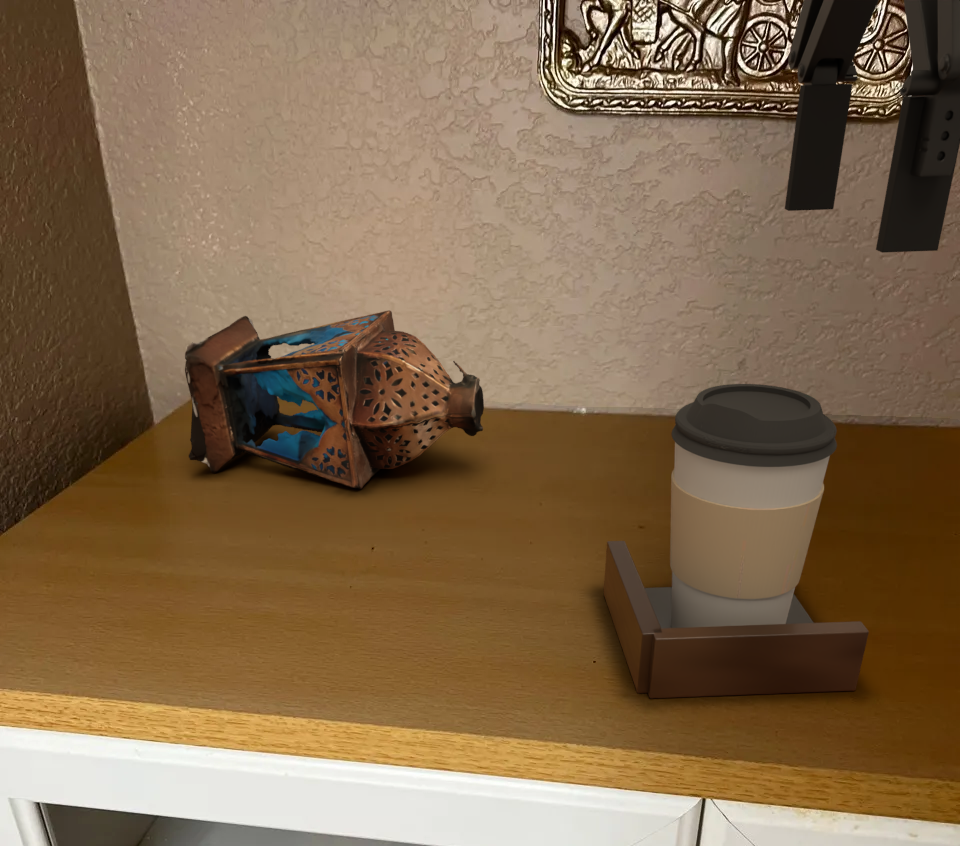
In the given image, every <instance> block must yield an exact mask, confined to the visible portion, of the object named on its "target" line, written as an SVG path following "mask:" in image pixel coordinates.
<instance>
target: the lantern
mask: <svg viewBox="0 0 960 846" xmlns="http://www.w3.org/2000/svg"><path fill="white" fill-rule="evenodd" d="M394 324H395V323H394V318H393V312H392V310H384V311H380V312H376V313H375V312H374V313H371V314H367V315H362V316H357V317H353V318H348V319H344V320H340V321H334V322H330V323H327V324H322V325H318V326H314V327H310V328H304V329H300V330H296V331H291V332H287V333H283V334H279V335H274V336H270V337H267V338H266V337H265V338H262V339H260V337H259V334H258V332H257V330H256V329H255V327H254V322H253V320H252V319H251V318H250V317H248V316H247V315H243V316H240V317H238V319H236V320H235V321H234V322H232V323H231V324H230V325H228V326H226V327H224V328H223V329H221V330H219V331H217V332H215V333H213V334H212V335H210V336H208V337H206V338H204V339H202V340H200V341H198V342H191V343H189V344H188V345H187V346H186V350H185V353H184V360H185V365H184V374H185V379H186V383H187V388H188V391H189V394H190V399H191V403H192V405H191V421H190V422H191V423H190V425H191V426H190V438H189V441H190V444H191V449H190V451H189V453H188V458H189V460H190V461H197V462H201V463H203V464H206V465H207V467H208V468H209V470H210V472H211V473H217V472H218V471H219V470H221V469H222V467H224V466H225V465H226V464H227V463H229V462H230V461H231V460H233V459H235V457H238V456H241V455H242V453H247V454H249V455H251V456H254V457H258V458H260V459H261V460H267V461H269V462H272V463H276V464H278V465H281V466H283V467H287V468H289V469H292V470H296V471H299V472H301V473H302V472H303V473H304V474H305V473H306V474H309V475H312V476H314V477H318V478H320V479H324V480H327V481H329V482H333V483H338V484H340V485H342V486H344V487H348V488H352V489H355V490H362V489H363V487H364V486H365V485H366V484H367V483H368V482H369V481H371V480H370V479H371V478H372V477H374V476H375V474H377V472H379V471H380V470H381V469H382V470H393V469H397V468H399V467H402V466H404V465H405V464H408V463H410V462H412V461H413V460H415V459H416V458H418V457H421V455H422V454H423V453H424V452H426V451H427V450H428V449H429V448H430V447H432V446H433V444H434V443H436V442H437V441H438V440H439V439H440V438H441V437H442V436H443V435H444V434H445V433H446V432H448V431H449V430H451V429H453V428H457V429H461V430H462V431H463V432H464V433H465V434H466V435H468V436H469V437H475V436H476V435H477V434H478V433H479V432H482V431H483V430H484V426H483V425H482V424H481V423H482V422H481V421H482V420H481V419H482V416H483V414H484V409H485V403H484V392H483V387H482V386H481V385H480V381H481V380H480V377H478V376H476V375H474V374H468V373H467V372H465V370H464V369H463V368H462V367H461V366H460V365H459V364H458V363H457V362H456V361H455V360H453V364H454V365H455V366H456V367H457V368H458V370H459V372H460V373H462V379H461V381H458V382H454V381H453V379H452V378H451V376H450V374H449V373H448V372H447V371H446V369H445V367H444V366H443V365H442V363H441V361H440V360H439V359H438V358H437V357H436V355H435V354H434V353H433V352H432V350H430V349H429V348H428V347H427V346H426V344H425V343H424V342H422V340H420V339H419V338H418V337H417V336H415V335H413V334H411V333H409V332H406V331H401V330H395V325H394ZM283 344H286V345H288V346H290V347H292V346H293V347H295V346H296V347H298V346H301V345H308V346H305V347H303V348H301V349H298V350H294V351H291V352H289V353H287V354H285V355H281V356H280V357H279V356H278V357H274V358H272V355H270V349H271V348H272V347H273V346H280V345H281V346H282V345H283ZM278 399H280V400H281V401H286V402H287V403H294V404H296V405H297V407H301V406H302V404H303V401H306V402H307V403H311V404H313V405H314V407H315V408H316V409H313V410H308V411H307V412H302V411H301V412H298V413H294V414H292V415H288V414H285V413H282V412H281V411H280V403H279V400H278ZM273 426H282V427H287V428H292V429H293V428H294V429H299V430H300V431H298V432H297V433H295V434H291V433H290V432H288V431H287V430H285V431H283V432H279V433H278V434H277V438H278V439H277V440H275V439H272V438H267V439H265V440H263V441H262V443H261V444H260V445H256V443H257V442H258V440H259V439H261V438H262V437H264V435H265V434H266V433H268V432H269V430H271V428H272V427H273ZM315 432H317V433H321V434H320V435H318V434H317V433H315Z"/></svg>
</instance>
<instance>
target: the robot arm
mask: <svg viewBox="0 0 960 846" xmlns="http://www.w3.org/2000/svg"><path fill="white" fill-rule="evenodd" d="M879 1H880V0H803V2H802V4H801V9H800V13H799V17H798V20H797V25H796V29H795V32H794V36H793V39H792V44H791V48H790V51H789V54H788V61H787V62H788V67H789V69H790V70H797V73H796V74H797V81H798V83H799V84H801V85H800V86H799V95H798V103H797V110H796V119H795V124H794V134H793V141H792V149H791V157H790V165H789V173H788V181H787V187H786V194H785V195H786V196H785V202H784V203H785V204H784V210H786V211H788V212H793V211H794V212H796V211H824V210H826V211H827V210H834V209H835V201H836V194H837V187H838V181H839V174H840V169H841V162H842V155H843V149H844V141H845V135H846V130H847V129H846V128H847V123H848V117H849V109H850V103H851V97H852V89H853V82H856V81H857V80H858V77H859V76H858V72H857V68H856V65H855V61H854V58H855V56H856V53H857V52H858V50H859V47H860V44H861V42H862V40H863V38H864V35H865V33H866V32H867V28H868V27H869V24H870V22H871V19H872V17H873V14H874V13H875V10H876V8H877V5H878V4H879ZM903 3H904V4H903V5H904V11H905V20H906V26H907V34H908V42H909V48H910V49H909V50H910V56H911V63H912V70H911V71H910V75H908V76H907V78H906V79H905V81H904V82H903V84H902V86H901V87H902V88H900V89H899V94H900V95H901V97H902V99H901V104H900V105H901V106H900V111H899V112H900V113H899V116H898V117H899V118H898V123H897V128H896V134H895V140H894V146H893V151H892V156H891V162H890V168H889V173H888V179H887V183H886V184H887V185H886V190H885V196H884V203H883V207H882V212H881V217H880V224H879V229H878V234H877V240H876V245H875V251H878V252H880V253H908V252H910V253H911V252H935V251H939V246H940V240H941V236H942V231H943V226H944V221H945V216H946V212H947V208H948V202H949V198H950V193H951V188H952V183H953V179H954V174H955V169H956V166H957V165H956V164H957V159H958V154H959V149H960V0H903Z"/></svg>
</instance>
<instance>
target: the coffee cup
mask: <svg viewBox="0 0 960 846" xmlns="http://www.w3.org/2000/svg"><path fill="white" fill-rule="evenodd" d="M674 417H675V418H674V423H675V425H674V427H673V428H672V430H671V437H672V440H673V441H674V468H673V470H672V471H671V476H670V477H671V478H670V479H671V481H670V482H671V483H670V536H669V537H670V540H669V541H670V542H669V543H670V545H669V547H670V548H669V567H670V570H671V587H672V607H671V626H672V628H686V627H714V626H743V625H771V624H786V620H787V616H788V613H789V609H790V605H791V601H792V597H793V594H794V593H795V589H796V587H797V586H798V584H799V583H800V581H801V576H802V573H803V569H804V566H805V562H806V557H807V555H808V550H809V548H810V543H811V539H812V536H813V533H814V528H815V525H816V521H817V517H818V513H819V509H820V506H821V502H822V499H823V494H824V491H825V484H824V479H825V477H826V472H827V469H828V466H829V461H830V458H831V457H830V456H832V455H833V454H834V453H835V452H836V450H837V447H838V443H837V440H836V435H837V431H838V430H837V429H838V428H837V426H836V424H835V422H833V420H831V418H830V417H828V416H827V415H825V414H824V411H823V408H822V405H821V403H820V401H819V400H817V399H816V398H815V397H813V396H812V395H809V394H807V393H804V392H803V391H802V392H801V391H799V390H795V389H792V388H786V387H783V386H777V385H769V384H760V383H759V384H758V383H729V384H721V385H720V384H719V385H715V386H711V387H708V388H705V389H703V390H702V391H699V393H698V394H697V395H696V396H695V399H694V400H693V402H690V403H688V404H685V405H683V406H682V407H681V408H680V409H678V411H677V412H676V414H675V416H674ZM794 595H795V594H794Z"/></svg>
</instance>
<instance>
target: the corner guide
mask: <svg viewBox="0 0 960 846" xmlns="http://www.w3.org/2000/svg"><path fill="white" fill-rule="evenodd" d="M631 555H632V554H631V553H630V551H629V548H628V545H627V543H626V541H625V540H607V541H606V552H605V566H604V581H603V582H604V583H603V596H604V599H605V603H606V605H607V608H608V611H609V614H610V617H611V621H612V622H613V626H614V629H615V632H616V634H617V638H618V640H619V643H620V646H621V649H622V653H623V656H624V658H625V661H626V663H627V667H628V669H629V672H630V673H629V674H630V675H631V679H632V681H633V684H634V688H635V690H636V693H637V694H648V697H649V699H671V698H694V697H721V696H722V697H723V696H748V695H773V694H775V695H776V694H777V695H778V694H798V693H799V694H800V693H802V694H803V693H824V692H826V693H829V692H852V691H853V692H854V691H856V690H857V686H858V681H859V676H860V672H861V668H862V664H863V659H864V655H865V650H866V647H867V642H868V638H869V632H870V631H869V630H868V628H867V627H866V626H865V625H864V623H863V622H862V621H861V620H859V621H858V620H857V621H833V622H831V621H830V622H829V621H827V622H814V621H813V619H812V618H811V616H810V615H809V614H808V612H807V610H806V609H805V608H804V606H803V605H802V603H801V602H800V600H799V599H798V597H797V596H796V595H795V594H793V597H792V601H791V605H790V609H789V613H788V616H787V620H786V624H771V625H743V626H714V627H686V628H672V626H671V607H672V586H665V587H664V586H663V587H662V586H661V587H645V586H644V584H643V581H642V579H641V576H640V574H639V572H638V570H637V567H636V564H635V562H634V560H633V557H632V556H631Z"/></svg>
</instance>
